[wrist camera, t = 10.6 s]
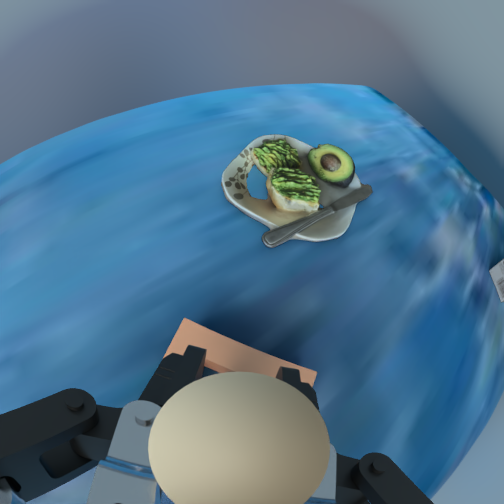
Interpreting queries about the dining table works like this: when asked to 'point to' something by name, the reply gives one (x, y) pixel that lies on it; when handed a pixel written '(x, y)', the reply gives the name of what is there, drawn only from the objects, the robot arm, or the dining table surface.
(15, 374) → the dining table surface
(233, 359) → the orange square ring
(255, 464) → the birch peg
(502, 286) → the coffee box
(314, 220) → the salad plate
